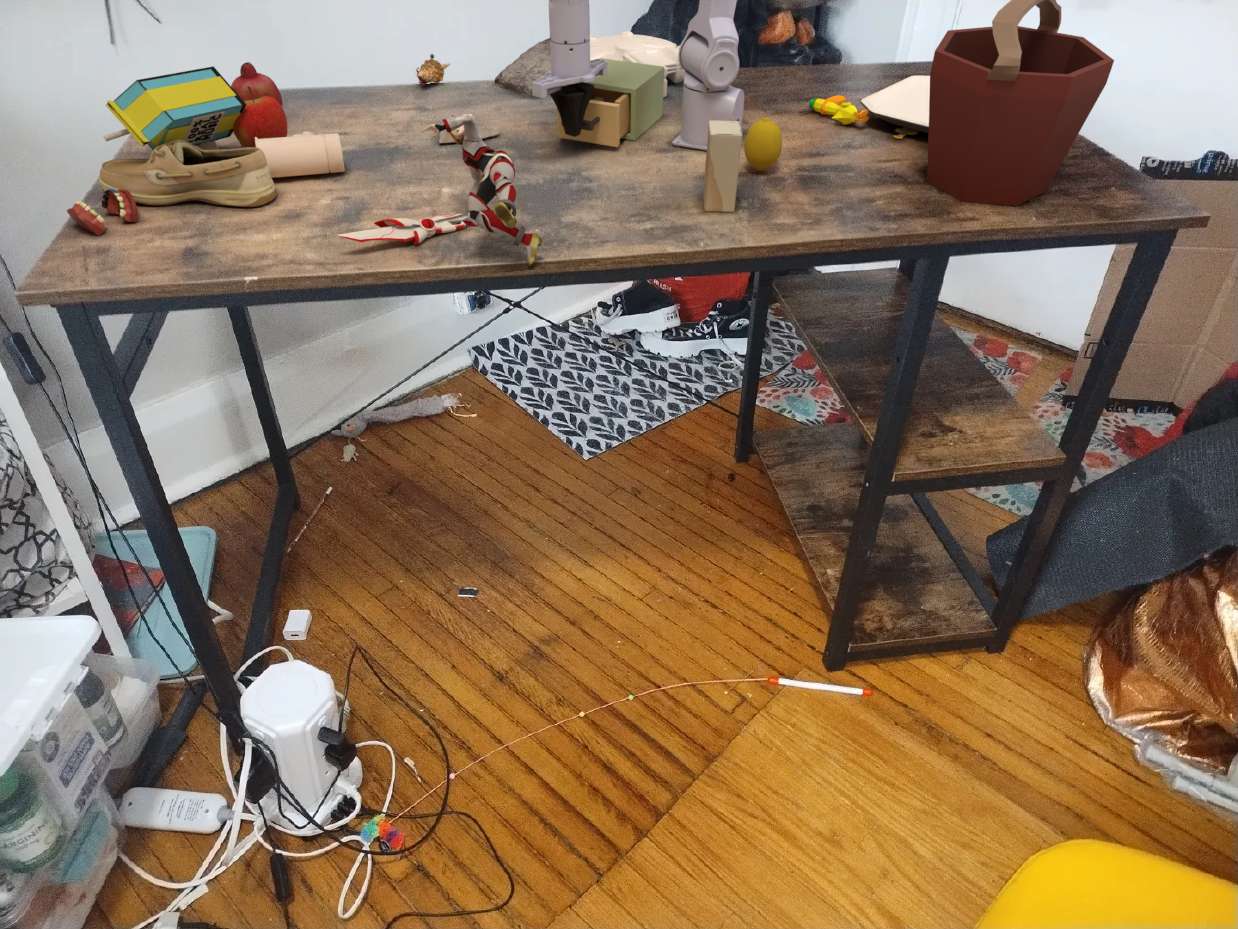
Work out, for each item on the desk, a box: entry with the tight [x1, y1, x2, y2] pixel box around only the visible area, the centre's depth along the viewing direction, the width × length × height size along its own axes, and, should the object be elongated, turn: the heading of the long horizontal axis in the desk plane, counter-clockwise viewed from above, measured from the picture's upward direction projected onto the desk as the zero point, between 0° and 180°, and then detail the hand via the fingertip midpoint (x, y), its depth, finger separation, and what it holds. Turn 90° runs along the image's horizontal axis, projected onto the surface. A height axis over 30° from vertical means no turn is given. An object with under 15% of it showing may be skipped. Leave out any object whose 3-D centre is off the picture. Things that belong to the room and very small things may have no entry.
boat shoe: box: [97, 140, 278, 208], centre depth 124 cm, size 25×9×8 cm, turn 83°
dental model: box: [66, 189, 139, 237], centre depth 119 cm, size 6×4×8 cm
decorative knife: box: [892, 126, 922, 140], centre depth 148 cm, size 12×1×5 cm
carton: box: [103, 66, 246, 151], centre depth 126 cm, size 7×8×18 cm
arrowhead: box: [438, 127, 500, 144], centre depth 144 cm, size 5×1×10 cm
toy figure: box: [808, 94, 870, 126], centre depth 151 cm, size 7×4×12 cm
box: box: [702, 120, 743, 213], centre depth 122 cm, size 5×4×11 cm
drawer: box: [556, 88, 631, 148], centre depth 142 cm, size 15×10×6 cm
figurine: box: [414, 53, 451, 88], centre depth 164 cm, size 14×5×4 cm, turn 148°
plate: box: [860, 74, 930, 134], centre depth 151 cm, size 29×29×2 cm
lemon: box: [743, 117, 783, 172], centre depth 132 cm, size 6×6×8 cm
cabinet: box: [589, 58, 664, 141], centre depth 148 cm, size 13×12×8 cm
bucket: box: [926, 0, 1115, 207], centre depth 124 cm, size 24×22×25 cm
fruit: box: [230, 61, 283, 108], centre depth 144 cm, size 8×8×10 cm
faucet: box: [255, 130, 346, 179], centre depth 133 cm, size 6×12×12 cm
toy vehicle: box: [590, 30, 685, 98], centre depth 166 cm, size 23×25×6 cm
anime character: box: [335, 113, 543, 267], centre depth 112 cm, size 23×16×25 cm
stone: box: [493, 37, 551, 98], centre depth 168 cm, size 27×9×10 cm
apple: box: [232, 86, 288, 148], centre depth 135 cm, size 8×8×10 cm
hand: (572, 134), depth 136 cm, fingers closed
